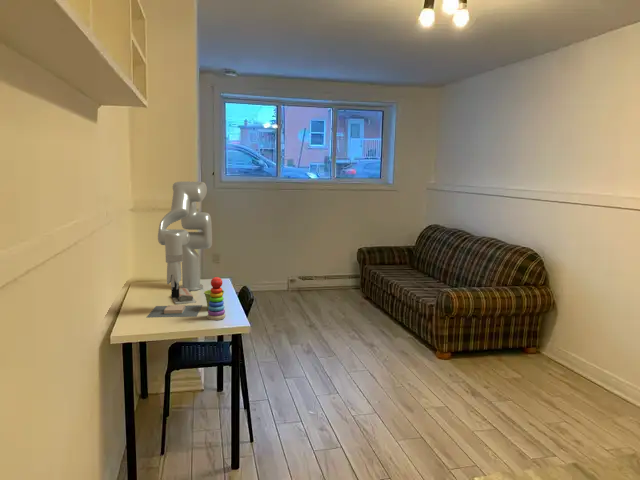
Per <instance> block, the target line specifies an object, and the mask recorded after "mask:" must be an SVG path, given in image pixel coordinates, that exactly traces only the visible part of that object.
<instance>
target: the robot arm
mask: <svg viewBox="0 0 640 480" xmlns="http://www.w3.org/2000/svg"><path fill="white" fill-rule="evenodd" d="M207 193H208V187H207V184H206V183H205V182H203V181H176V182H173V184H172V198H171V199H172V200H171V205H170V206H171V207H170V208H171V209H170V211H169V212H167V213H166V214H165V215H164V217H162V219H161V220H160V222H159V224H158V225H159V226H158V231H157V241H158V243H159V244H160V245H161V246H164V249H165V251H164V252H165V263H166V264H167V265H166V284H167V285H170V287H171V294H172V297H171V299H172V298H179V289H178V288H187V289H188V291H189V292H193V291H199V290H202V289H203V288H204V285H203V284H201V268H200V266H201V265H200V256H199V254H198V252H197V251H196V250H209V249H211V248H212V246H213V229H212V228H213V227H212V225H213V224H212V222H213V221H212V217H211V215H210V213H208V212H205V211H204V212H203V211H202V212H201V211H198V208H197V203H201V202H203V201H204V199H205V198H206V196H207ZM179 221H180V223H181V227H182V229H176V228H175V229H173V228H172V229H171V228H170V229H169V228H168V227H169V226H170V225H172V224H174V223H176V222H179ZM167 228H168V229H167ZM189 230H191V231H189ZM193 230H194V231H193ZM196 230H197V231H196ZM198 230H199V231H198ZM180 282H181V283H182V285H180Z"/></svg>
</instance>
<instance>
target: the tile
mask: <svg viewBox="0 0 640 480" xmlns="http://www.w3.org/2000/svg"><path fill="white" fill-rule="evenodd" d="M166 306H167V307H166V308H165V310H164V315H166V314H183V312H184V311H185V306H186V304H178V305H176V304H172V305H171V304H168V305H166Z"/></svg>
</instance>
